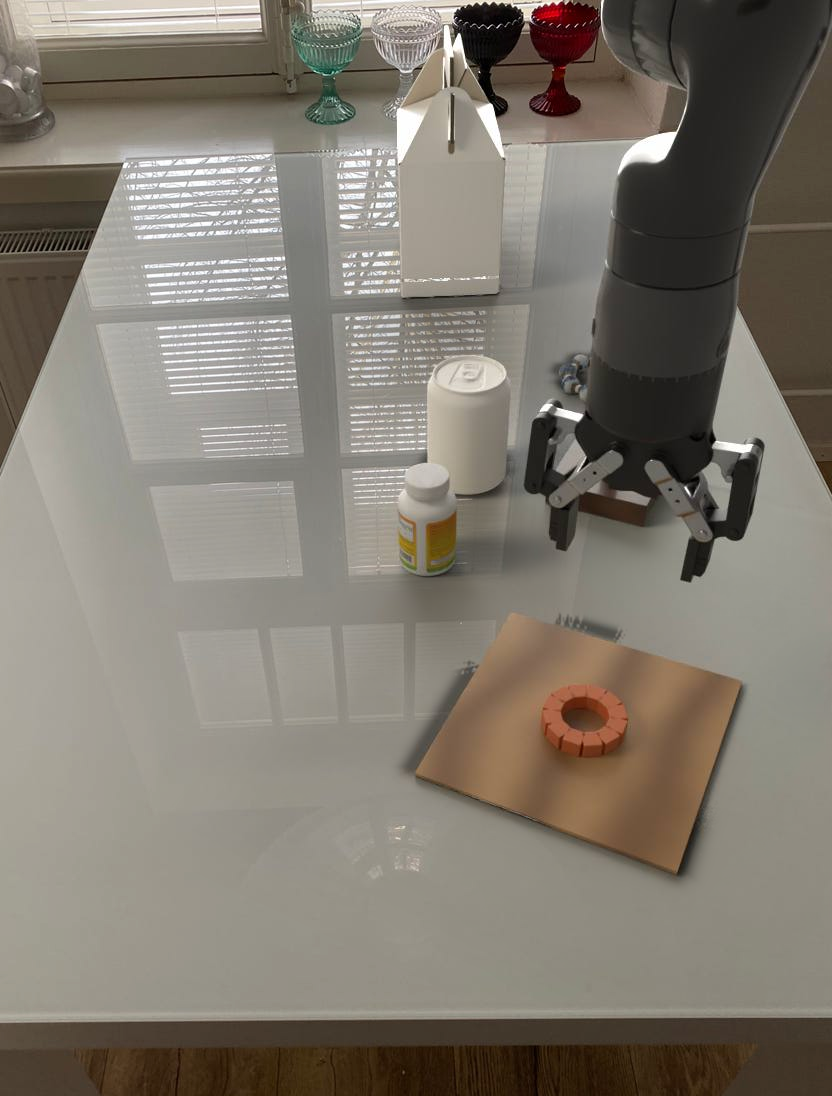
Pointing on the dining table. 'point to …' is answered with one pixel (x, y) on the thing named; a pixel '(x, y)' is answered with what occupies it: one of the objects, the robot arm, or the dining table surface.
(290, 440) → the dining table surface
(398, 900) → the dining table surface
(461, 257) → the gable box
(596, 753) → the ring
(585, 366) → the bracelet
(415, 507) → the supplement bottle
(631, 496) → the peg stand
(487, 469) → the beverage can
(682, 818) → the wooden board
